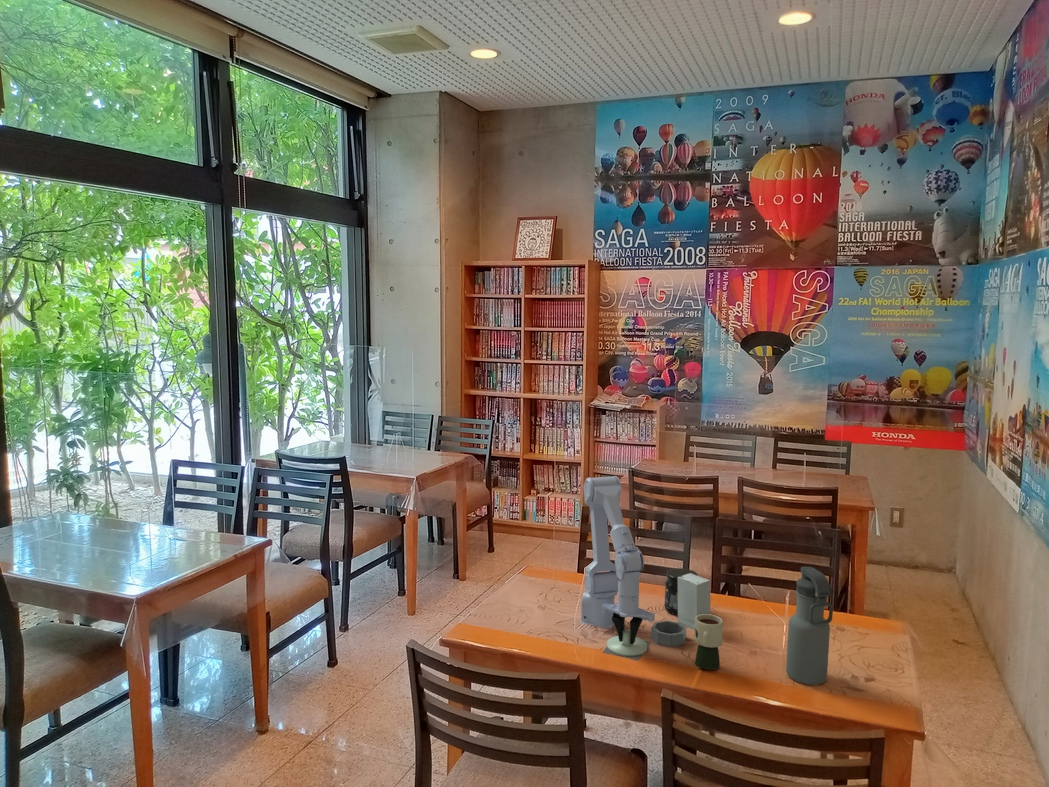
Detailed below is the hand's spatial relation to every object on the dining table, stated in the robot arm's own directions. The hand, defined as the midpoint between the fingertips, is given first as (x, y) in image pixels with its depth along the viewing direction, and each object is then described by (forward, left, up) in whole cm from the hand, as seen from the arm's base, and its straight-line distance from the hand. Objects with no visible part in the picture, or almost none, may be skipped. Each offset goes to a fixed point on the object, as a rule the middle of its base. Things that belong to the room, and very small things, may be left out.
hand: (627, 641), depth 200 cm
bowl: (+9, +10, -2) cm, 14 cm away
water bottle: (+46, +6, -2) cm, 46 cm away
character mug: (+22, 0, -2) cm, 22 cm away
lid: (0, 0, -2) cm, 2 cm away
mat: (0, 0, -2) cm, 2 cm away
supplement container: (+7, +33, -2) cm, 34 cm away
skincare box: (+13, +23, -2) cm, 27 cm away
